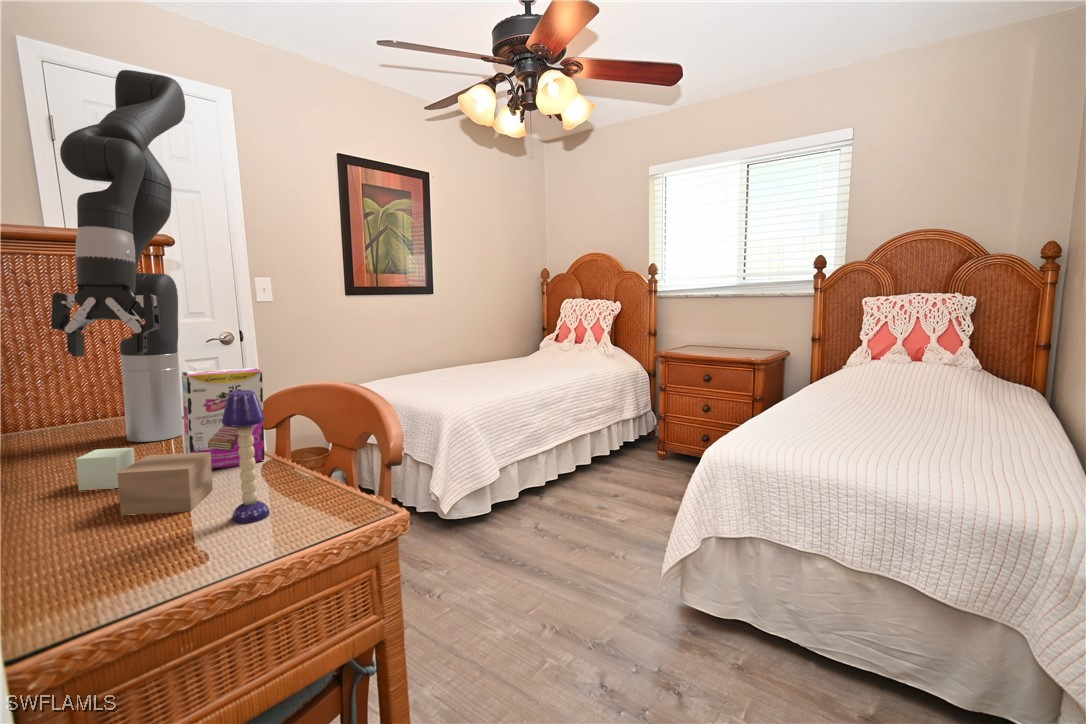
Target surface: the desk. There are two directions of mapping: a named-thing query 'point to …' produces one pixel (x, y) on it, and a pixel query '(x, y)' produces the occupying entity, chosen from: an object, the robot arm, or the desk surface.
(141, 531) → the desk surface
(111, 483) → the sage block
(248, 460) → the toy lamp
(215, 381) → the candy bar box
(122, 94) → the robot arm
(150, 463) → the walnut block
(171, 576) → the desk surface
